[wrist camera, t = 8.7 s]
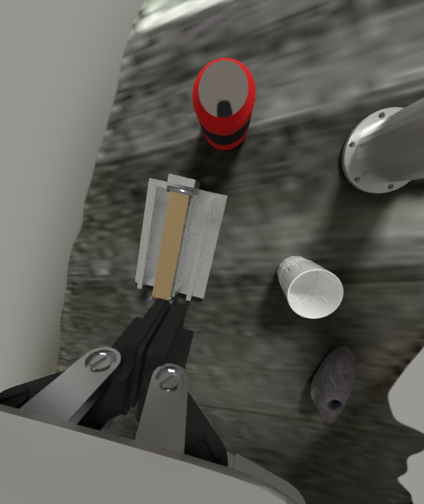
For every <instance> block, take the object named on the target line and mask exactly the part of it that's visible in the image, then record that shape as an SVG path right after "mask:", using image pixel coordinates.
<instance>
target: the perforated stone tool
mask: <svg viewBox="0 0 424 504" xmlns="http://www.w3.org/2000/svg"><path fill="white" fill-rule="evenodd" d="M355 375H356V360H355V358H354V354H353V353H352V351H351V350H350V349H349V348H348V347H347V346H340V347H337V348H335V349H334V350H332V351H331V352H330V353H329V354H328V355H327V356H326V358H325V359H324V361H323V362H322V364H321V365H320V367H319V368H318V370H317V372H316V373H315V376H314V377H313V380H312V382H311V384H310V396H311V398H312V401H313V402H314V404H315V406H316V408H317V409H318V413H319V416H320V417H321V418H322V419H324V420H326V421H327V422H328V423H330V424H332V422H333V421H334V420H335V419H336V418H337V416H338V415H339V414H340V412H341V411H342V410H343V408H344V406H345V404H346V402H347V400H348V398H349V396H350V393H351V390H352V386H353V384H354V380H355Z"/></svg>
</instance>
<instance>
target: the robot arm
mask: <svg viewBox="0 0 424 504" xmlns="http://www.w3.org/2000/svg"><path fill="white" fill-rule="evenodd" d="M349 145H350V146H349ZM342 168H343V172H344V174H345V177H346V178H347V180H348V181H349V182H350V183H351V184H352V185H353V186H354V187H355V188H357V189H359V190H360V191H363V192H366V193H386V192H390V191H393V190H396V189H398V188H400V187H402V186H404V185H405V184H407V183H408V182H409V181H411V180H415V179H423V178H424V98H422V99H420V100H418V101H416V102H415V103H413V104H411V105H409V106H407V107H405V108H399V107H393V108H386V109H382V110H379V111H377V112H375V113H373V114H371V115H369V116H368V117H366V118H365V119H363V120H362V121H361V122H360V123H359V124H357V125H356V126H355V128H354V129H353V130H352V131H351V133H350V134H349V136H348V138H347V139H346V142H345V144H344V147H343V151H342ZM355 179H356V180H355ZM170 307H171V303H168V300H166V299H162V298H158V299H157V300H156V301H155V303H154V304H153V305H152V307H151V308H150V309H149V311H148V312H147V313H146V315H145V316H144V317H143V318H139V317H136V318H135V319H134V320H133V321H132V322H131V324H130V325H129V326H128V327H127V328H126V330H125V331H124V332H123V333H122V335H121V336H120V337H119V338H118V339H117V341H116V342H115V343H114V344H113V345H112V347H111V348H110V347H101V348H96V349H94V350H91V351H90V352H88V353H86V354H85V355H84V356H83V357H82V358H80V359H79V360H78V361H77V362H75V363H74V364H73V365H72V366H71V367H69V368H68V369H67V370H65V371H62V372H59V373H56V374H53V375H49V376H46V377H43V378H40V379H37V380H33V381H30V382H27V383H24V384H21V385H18V386H14V387H12V388H9V389H7V390H4V391H3V392H1V393H0V504H306V503H305V500H304V498H303V497H302V495H301V494H300V493H299V492H298V490H297V489H296V488H295V487H294V486H292V485H291V484H290V483H288V482H287V481H285V480H283V479H281V478H280V477H278V476H276V475H274V474H273V473H271V472H269V471H267V470H265V469H264V468H262V467H260V466H258V465H257V464H255V463H253V462H251V461H250V460H248V459H246V458H244V457H242V456H241V455H239V454H237V453H236V455H235V456H233V455H232V454H230V453H228V452H226V449H225V447H224V445H223V443H222V441H221V440H220V438H219V437H218V435H217V434H216V432H215V431H214V429H213V428H212V426H211V425H210V423H209V422H208V420H207V419H206V417H205V416H204V414H203V413H202V411H201V410H200V409H199V407H198V406H197V404H196V403H195V401H194V400H193V398H192V397H191V395H190V394H189V392H188V375H187V373H186V371H185V370H184V369H185V366H186V362H187V358H188V355H189V351H190V347H191V342H192V338H193V334H194V331H190V330H186V329H182V328H183V323H184V318H185V314H186V309H187V305H186V304H182V303H177V305H175V304H173V306H172V307H171V309H170ZM138 399H139V402H138V411H137V417H136V419H137V421H138V423H139V426H138V430H137V434H136V438H135V440H132V439H128V438H125V437H121V436H117V435H114V434H110V433H106V431H107V430H108V428H109V427H110V425H111V423H112V420H113V418H114V417H116V416H118V415H120V414H123V415H127V413H128V411H129V409H130V406H131V407H135V405H136V403H137V401H138Z"/></svg>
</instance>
